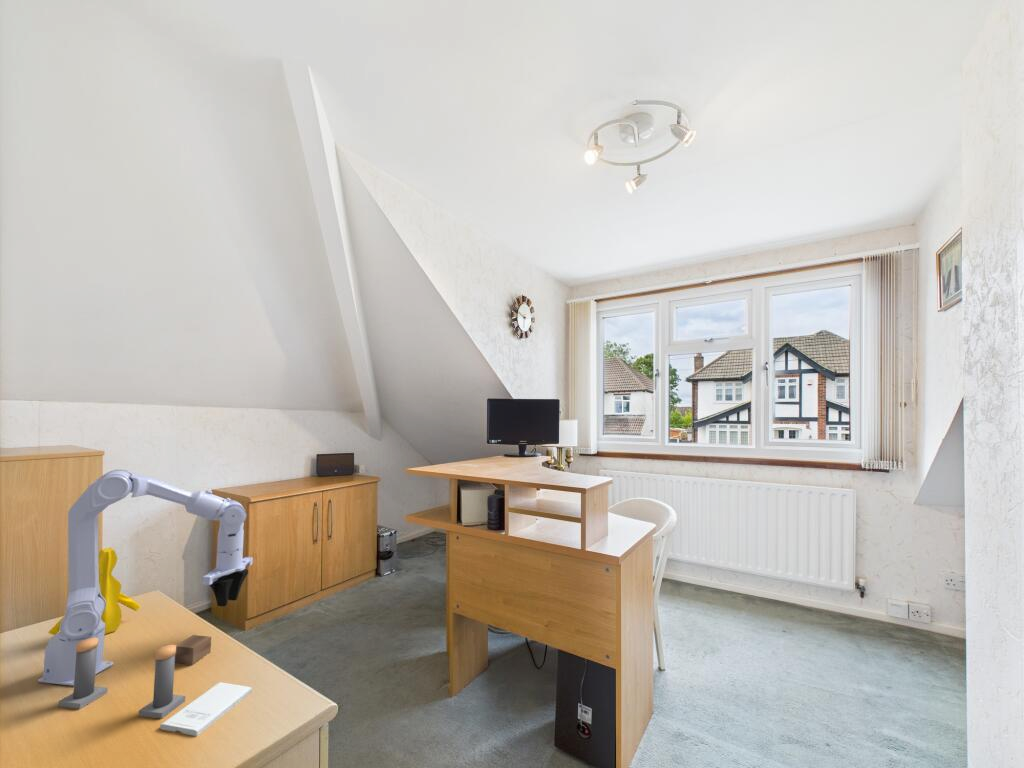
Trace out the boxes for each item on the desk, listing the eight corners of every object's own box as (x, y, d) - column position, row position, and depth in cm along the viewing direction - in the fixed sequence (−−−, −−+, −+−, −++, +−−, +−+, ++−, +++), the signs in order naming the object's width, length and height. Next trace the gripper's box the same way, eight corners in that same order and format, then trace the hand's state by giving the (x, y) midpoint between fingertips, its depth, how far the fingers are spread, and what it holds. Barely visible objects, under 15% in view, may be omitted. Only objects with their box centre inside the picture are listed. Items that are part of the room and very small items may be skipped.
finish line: (58, 706, 84) (62, 647, 85) (86, 690, 89) (90, 634, 90) (161, 718, 81) (165, 657, 82) (185, 701, 86) (188, 643, 87)
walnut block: (173, 664, 99) (174, 646, 99) (191, 652, 104) (192, 635, 104) (192, 666, 98) (193, 647, 98) (210, 653, 103) (211, 636, 103)
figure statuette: (136, 616, 121) (141, 536, 122) (147, 624, 117) (152, 541, 118) (44, 645, 106) (52, 553, 107) (53, 655, 102) (60, 560, 103)
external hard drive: (251, 695, 89) (196, 739, 77) (218, 689, 91) (159, 732, 79) (251, 687, 89) (197, 729, 77) (218, 681, 91) (159, 722, 79)
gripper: (221, 559, 105) (218, 616, 104) (263, 541, 119) (261, 592, 118) (195, 557, 106) (192, 614, 105) (240, 540, 120) (237, 590, 119)
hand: (227, 602), depth 111 cm, fingers open, 3 cm apart
